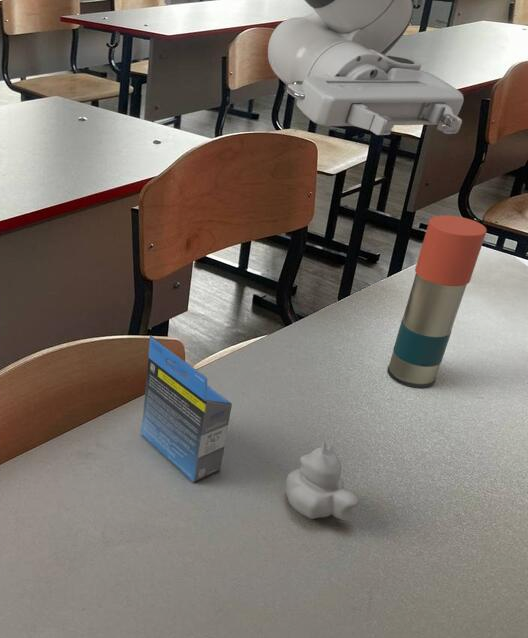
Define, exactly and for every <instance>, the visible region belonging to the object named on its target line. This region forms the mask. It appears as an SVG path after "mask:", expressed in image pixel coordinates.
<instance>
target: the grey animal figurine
mask: <svg viewBox="0 0 528 638" xmlns="http://www.w3.org/2000/svg"><path fill="white" fill-rule="evenodd" d="M300 463H301V466H300V468H297V469H294V470H292V471H291V472H290V473H288V475H287V476H286V481H285V491H286V492H285V493H286V496H287V500H288V502H289V504H290V505H291V507H292V508H293V509H294V510H296V512H298V513H299V514H301V515H302V516H305V517H306V518H308V519H310V520H315V519H318V518H319V519H321V518H326V517H327V518H328V517H329V516H332V517H335V518H337V519H339V520H343V521H346V520H347V521H348V520H349V519H350V518H351V517H352V511H353V510H354V509H355V508H356V507H357V506H358V504H359V498H358V496H357V495H356V494H355V493H353V492H352V491H350V490H348V489H346V488H344V487H345V486H344V485H345V484H344V483H345V482H344V479H343V478H342V477H341V474H342V463H341V460H340V458H339V456H338V454H337V452H336V451H335V449H334V447H333V446H332V445H329V446H327V443H326V440H325V439H324V440H323V441H322V445H321V446H320V447H317V448H315V449H313V450H312V451H310V453H308V454H304V455H302V456H301V457H300Z"/></svg>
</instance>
